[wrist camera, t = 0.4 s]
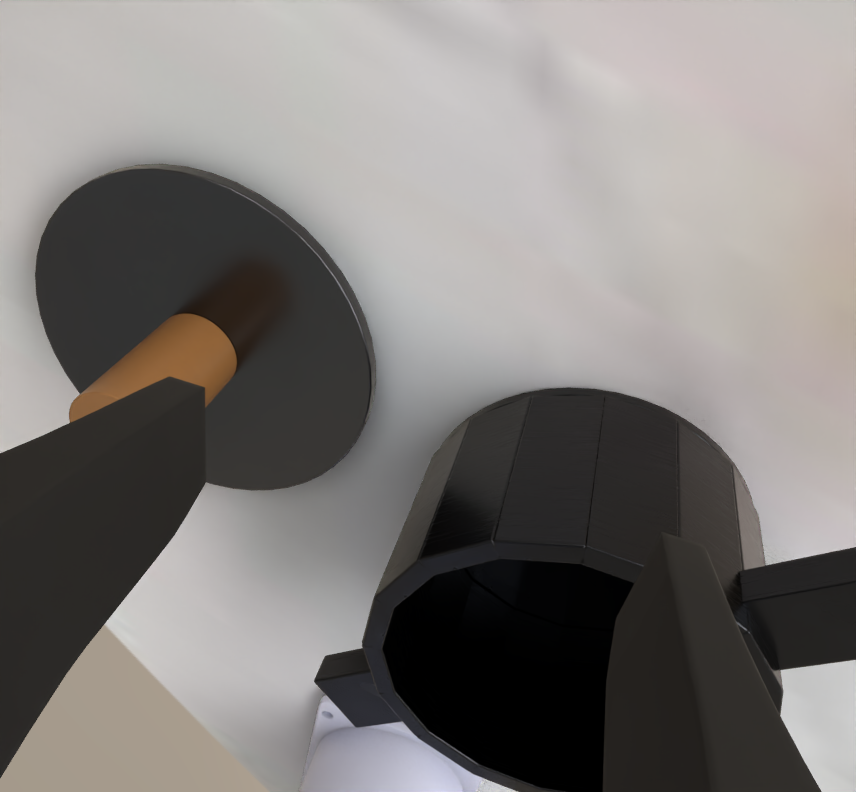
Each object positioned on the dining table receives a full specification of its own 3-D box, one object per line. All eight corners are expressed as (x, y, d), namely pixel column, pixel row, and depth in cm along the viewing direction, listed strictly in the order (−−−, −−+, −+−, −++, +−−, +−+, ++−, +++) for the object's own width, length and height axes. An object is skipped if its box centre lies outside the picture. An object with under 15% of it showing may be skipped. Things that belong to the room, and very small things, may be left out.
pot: (900, 583, 22) (970, 791, 17) (459, 662, 30) (415, 821, 25) (778, 296, 18) (819, 452, 13) (309, 470, 26) (221, 612, 21)
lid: (450, 413, 23) (398, 536, 19) (208, 504, 29) (124, 616, 24) (227, 78, 19) (94, 135, 15) (-6, 258, 24) (-153, 339, 20)
